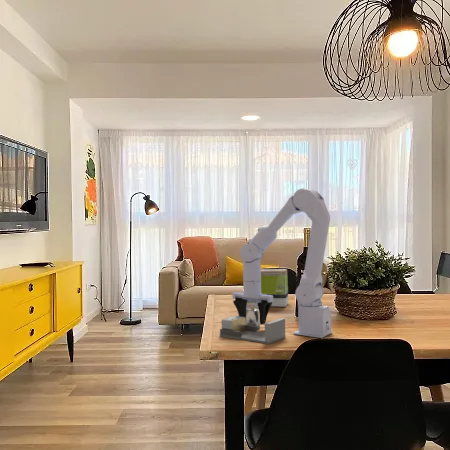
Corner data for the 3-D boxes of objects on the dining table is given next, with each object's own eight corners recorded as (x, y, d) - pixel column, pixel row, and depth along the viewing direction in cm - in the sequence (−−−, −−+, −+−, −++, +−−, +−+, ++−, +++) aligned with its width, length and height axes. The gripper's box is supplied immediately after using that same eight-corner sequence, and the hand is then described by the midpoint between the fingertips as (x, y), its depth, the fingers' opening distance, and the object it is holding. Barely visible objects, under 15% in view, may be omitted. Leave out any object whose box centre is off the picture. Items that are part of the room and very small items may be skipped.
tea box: (288, 303, 196) (287, 268, 196) (285, 307, 187) (285, 270, 187) (253, 302, 200) (253, 268, 200) (249, 306, 190) (248, 270, 190)
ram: (245, 329, 144) (245, 316, 144) (232, 334, 139) (232, 320, 139) (235, 328, 147) (234, 315, 147) (221, 332, 141) (221, 319, 141)
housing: (262, 327, 151) (262, 306, 151) (255, 330, 147) (254, 308, 147) (250, 326, 154) (250, 305, 154) (243, 328, 150) (242, 307, 150)
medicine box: (241, 318, 166) (241, 294, 166) (238, 316, 170) (237, 292, 170) (262, 317, 168) (262, 293, 168) (258, 315, 172) (257, 291, 172)
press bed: (285, 337, 137) (285, 318, 137) (269, 344, 130) (269, 324, 130) (236, 330, 148) (236, 312, 148) (219, 336, 140) (219, 317, 140)
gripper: (277, 280, 149) (278, 322, 149) (240, 278, 158) (241, 317, 158) (266, 283, 144) (267, 326, 144) (228, 280, 152) (229, 321, 152)
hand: (252, 322), depth 151 cm, fingers open, 7 cm apart
